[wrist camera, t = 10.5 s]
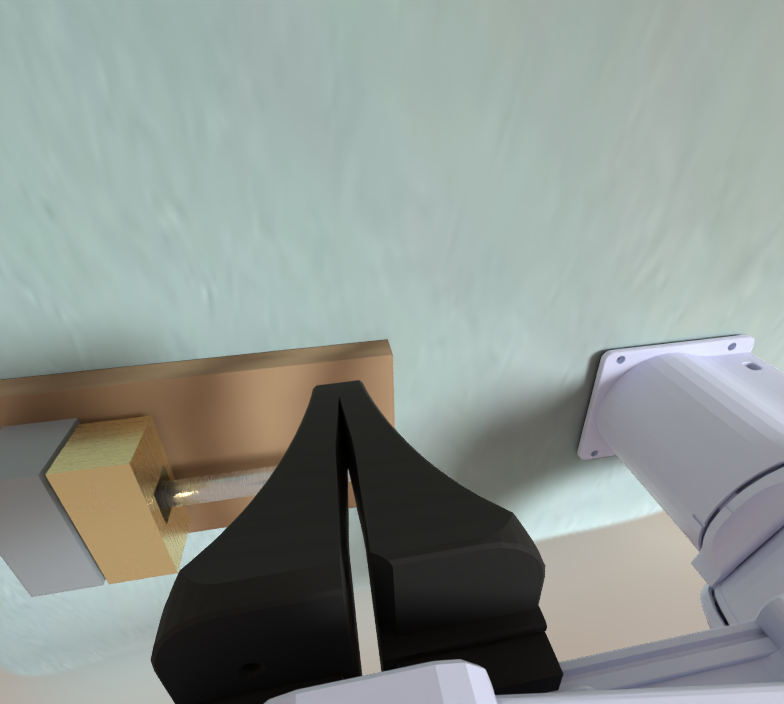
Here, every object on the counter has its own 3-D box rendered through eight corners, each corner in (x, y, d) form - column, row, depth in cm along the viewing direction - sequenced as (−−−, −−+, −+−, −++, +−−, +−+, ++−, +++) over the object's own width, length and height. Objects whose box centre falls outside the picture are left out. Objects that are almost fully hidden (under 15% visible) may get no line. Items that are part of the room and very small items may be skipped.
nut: (151, 415, 20) (129, 463, 17) (191, 520, 23) (177, 572, 21) (78, 424, 19) (45, 474, 17) (130, 529, 23) (109, 584, 21)
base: (387, 339, 22) (407, 398, 18) (392, 481, 27) (408, 553, 23) (-11, 380, 20) (-96, 460, 16) (75, 528, 25) (29, 618, 21)
